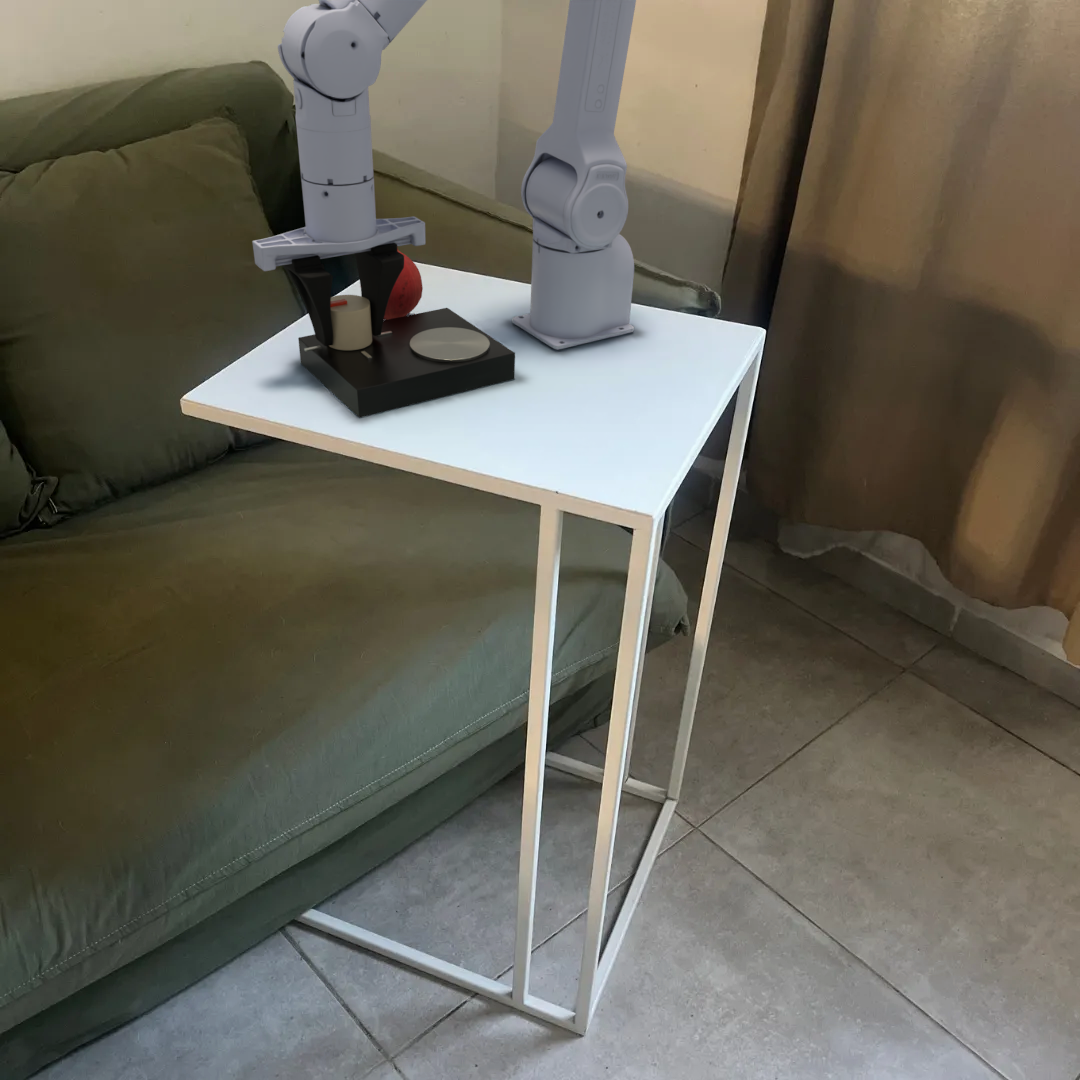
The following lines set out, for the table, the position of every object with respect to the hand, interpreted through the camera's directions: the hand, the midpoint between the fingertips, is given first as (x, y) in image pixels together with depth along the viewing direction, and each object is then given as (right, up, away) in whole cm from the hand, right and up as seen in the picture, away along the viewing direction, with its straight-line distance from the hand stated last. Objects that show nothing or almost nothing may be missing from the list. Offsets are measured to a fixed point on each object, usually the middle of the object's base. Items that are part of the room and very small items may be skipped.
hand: (349, 336), depth 88 cm
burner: (+9, -1, 0) cm, 9 cm away
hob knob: (0, 0, 0) cm, 0 cm away
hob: (+5, -3, +2) cm, 6 cm away
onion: (+2, +3, +11) cm, 11 cm away
